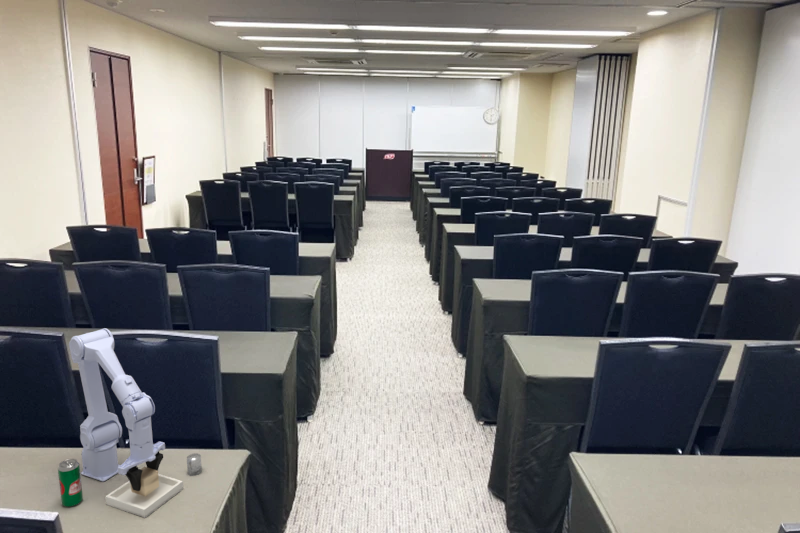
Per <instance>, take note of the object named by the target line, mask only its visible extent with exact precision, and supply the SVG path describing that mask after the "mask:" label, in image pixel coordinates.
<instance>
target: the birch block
mask: <svg viewBox="0 0 800 533" xmlns="http://www.w3.org/2000/svg"><path fill="white" fill-rule="evenodd" d="M140 469H141V470H143V471H142V474H141V489H140V491H136V490H133V488H132V485H131V491H132V492H133V493H136V494H139V495H142V496H147V495H148V494H150V493H151V492H152V491H154V490H155V489H156V488H158V487H159V477H158V474H159V470H158V471H157V470H154V469H151V468H148V467H147V466H143V467H142V468H140Z"/></svg>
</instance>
